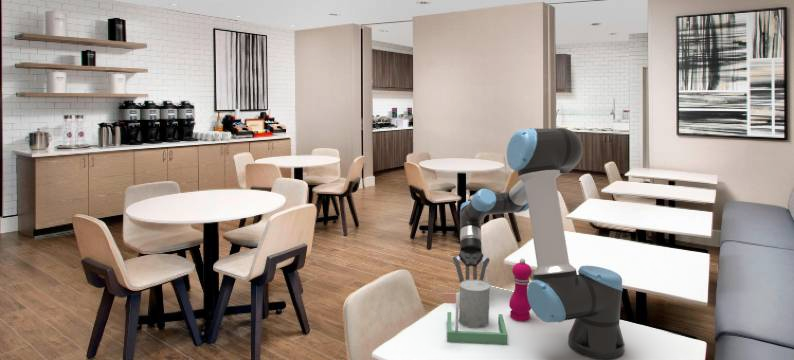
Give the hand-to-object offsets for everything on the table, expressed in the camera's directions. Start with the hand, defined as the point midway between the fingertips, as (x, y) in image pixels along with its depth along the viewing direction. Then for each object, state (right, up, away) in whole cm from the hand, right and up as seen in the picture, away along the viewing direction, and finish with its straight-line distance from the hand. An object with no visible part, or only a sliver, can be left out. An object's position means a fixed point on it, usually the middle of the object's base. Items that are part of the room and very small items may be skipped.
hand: (471, 304), depth 170 cm
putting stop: (-1, -5, -13) cm, 14 cm away
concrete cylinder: (0, -4, -5) cm, 7 cm away
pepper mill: (+15, -4, -2) cm, 16 cm away
